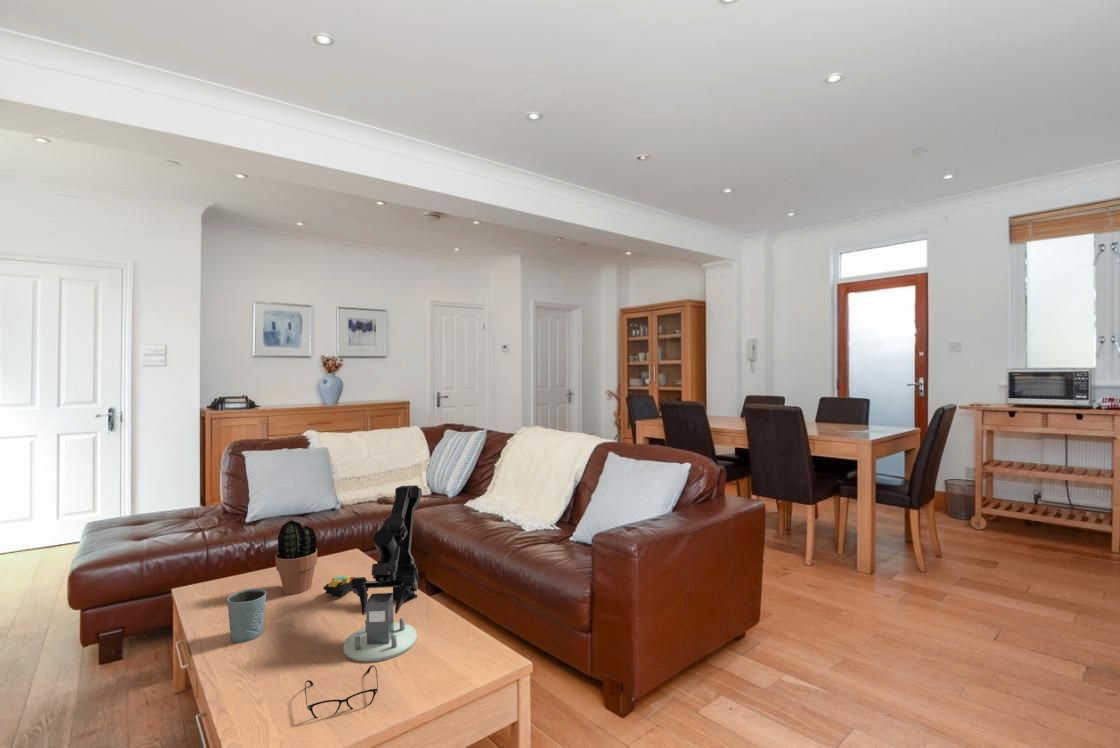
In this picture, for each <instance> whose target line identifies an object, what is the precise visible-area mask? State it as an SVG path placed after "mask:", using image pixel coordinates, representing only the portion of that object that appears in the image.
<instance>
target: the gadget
mask: <svg viewBox="0 0 1120 748" xmlns="http://www.w3.org/2000/svg"><path fill="white" fill-rule="evenodd" d="M353 578H355V576H351V575H350V574H349V575H343V576H334V577H332V578H331V581H330V582H329V583H327V584H326V585H323V590H324V591H325V595H331V597H335V598H336V597H342V596H344V594H346V593H349V592H350V591H352V590H351V588H350V582H351V580H352V579H353Z"/></svg>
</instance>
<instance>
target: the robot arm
mask: <svg viewBox="0 0 1120 748" xmlns="http://www.w3.org/2000/svg"><path fill="white" fill-rule="evenodd" d="M422 491H423V490H422V488H420V486H419V485H415V484H414V485H400V486H398V487H395V491H394V497H395V498H394V501H393V505H392V508H391V511H390V515H389V517H387V518H385V520H383V523H382V525H381V527H380V528H379V530H378V531H376V532H375V534H374V535H373V539H372V540H373V544H374V546H375V548H376V550H377V552H378V553H379V557H378V560H377V562H376V563H372V565H371V566H372V567H371V574H370V576H372V579H373V580H368V579H367V578H366V577H365V576H361V577H360V576H358V577H355V576H354V577H355V578H353V579H352V580H351V582H350V588H351V590H350V591H352V592H353V594H355V595H356V596H358V597H359V601H360V609H361V614H362V615H363V616H365V615H366V602H367V601H368V599H369V593H368V591H369V589H382V588H385V589H387V588H392V593H393V601H395V602H396V604H395V609H394V614H395V615H396V614H398V613H399V611H400V609H401V607H402V606H403V604H404V603H406V602H409V601H411V600H413V599H415V598H416V597H418V594H417V593H415V592H417V591H418V586H419V585H418V584H419V583H418V580H419V572H418V569H417V566H416V563H415V559H414V557H413V555H412V553H411V551H412V550H411V549H412V538H413V537H412V536H413V529H414V528H413V525H414V516H415V511H416V509H417V508H418V506H419V505H420V500H421V498H422V495H423V494H422V493H423V492H422Z"/></svg>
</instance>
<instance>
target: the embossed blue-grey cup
mask: <svg viewBox="0 0 1120 748" xmlns="http://www.w3.org/2000/svg"><path fill="white" fill-rule="evenodd" d="M266 601H267V591H266V590H264V589H261V588H252V589H251V588H250V589H243V590H240V591H237V592H234V593H232V594H230V595H229V596H228V597H227V599H226V602H227V611H228V623H229V625H228V627H229V631H230V634H229V635H230V636H229V637H230V640H231V641H232V642H234V643H245V642H249V641H253V640H255V639H258V638H259V637H261V636H262V635H263V634H264V630H265V629H264V627H265V626H264V625H265V610H266Z"/></svg>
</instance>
